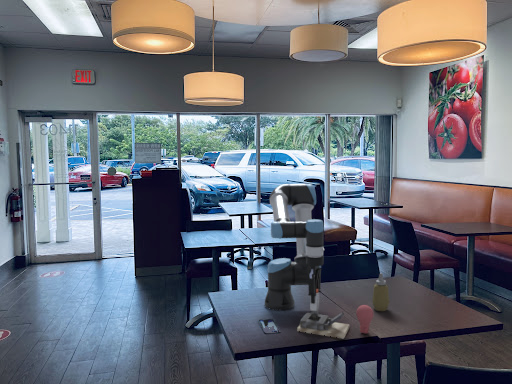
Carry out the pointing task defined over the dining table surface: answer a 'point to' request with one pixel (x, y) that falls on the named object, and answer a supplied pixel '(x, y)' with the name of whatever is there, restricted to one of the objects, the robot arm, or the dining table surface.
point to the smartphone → (268, 323)
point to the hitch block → (322, 326)
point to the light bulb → (364, 317)
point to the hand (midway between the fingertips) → (314, 308)
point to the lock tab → (335, 319)
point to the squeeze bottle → (380, 294)
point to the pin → (315, 313)
